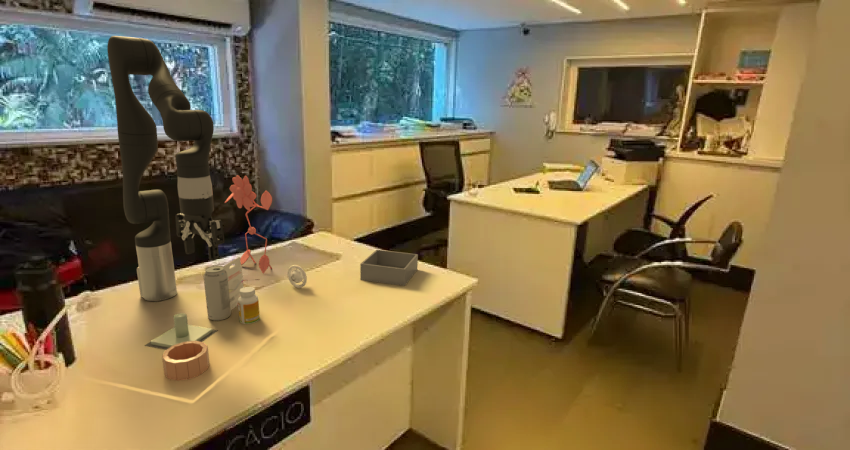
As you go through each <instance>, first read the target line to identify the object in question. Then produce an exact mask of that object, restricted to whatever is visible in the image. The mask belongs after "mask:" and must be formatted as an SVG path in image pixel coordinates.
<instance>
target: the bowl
mask: <svg viewBox="0 0 850 450" xmlns="http://www.w3.org/2000/svg"><path fill="white" fill-rule="evenodd" d="M161 359H162V366H163V373H164V376H165V377H166V378H167V379H168V380H173V381H185V380H191V379H194V378H196V377H198V376H201V375H202V374H203V373H206V371H207V370H208V369H209V367H210V355H209V346H208V345H207V344H206V343H205V342H204V341H203V342H199V341H188V342H182V343H179V344H176V345H173V346H171V347H170V348H168V349H167V350H164V351H163V354H162V356H161Z"/></svg>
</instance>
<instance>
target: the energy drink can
mask: <svg viewBox="0 0 850 450" xmlns="http://www.w3.org/2000/svg"><path fill="white" fill-rule="evenodd" d="M203 282H204V283H203V285H204V293H205V302H206V310H207V312H206V313H207V318H208V319H209V320H212V321H215V322H216V321H217V322H218V321H223V320H226V319H228V318H229V317H230V316H231V314H232V310H231V308H230V297H229V287H228V276H227V272H226V271H225V269H224V265H212V266H208V267H206V268H205V269H204V274H203Z"/></svg>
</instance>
